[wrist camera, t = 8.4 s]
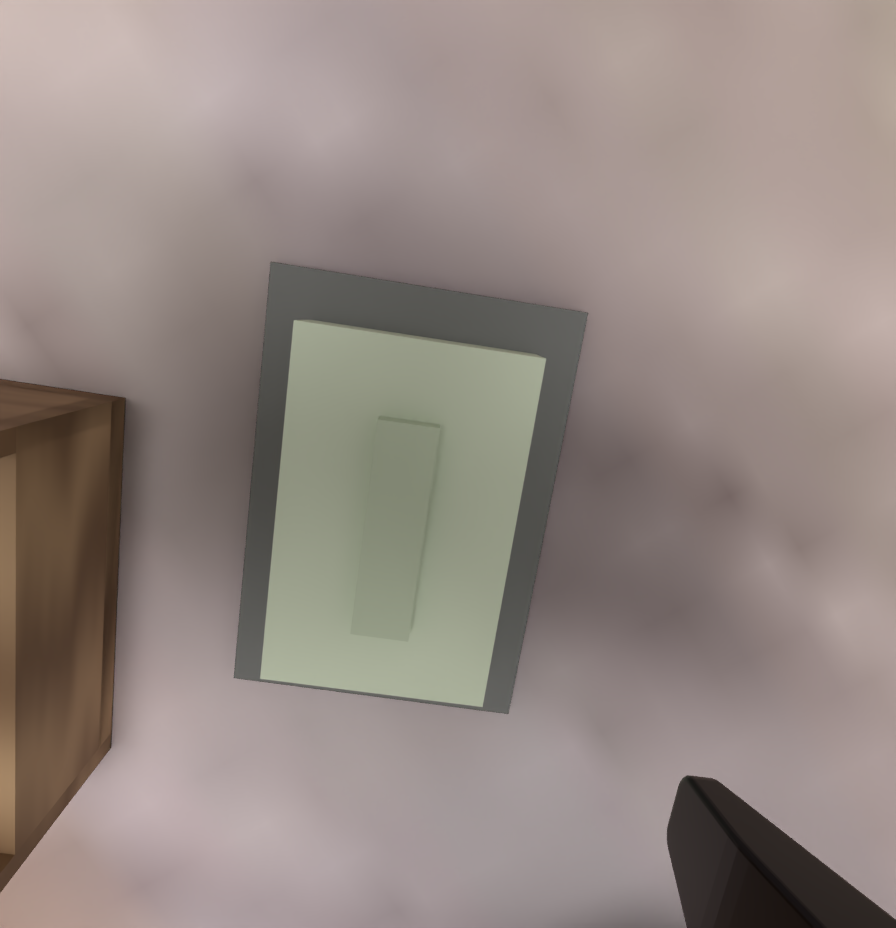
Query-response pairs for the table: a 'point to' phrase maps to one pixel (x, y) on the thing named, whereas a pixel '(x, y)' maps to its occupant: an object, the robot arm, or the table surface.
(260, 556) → the slate mat
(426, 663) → the lid
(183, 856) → the table surface
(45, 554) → the walnut box
